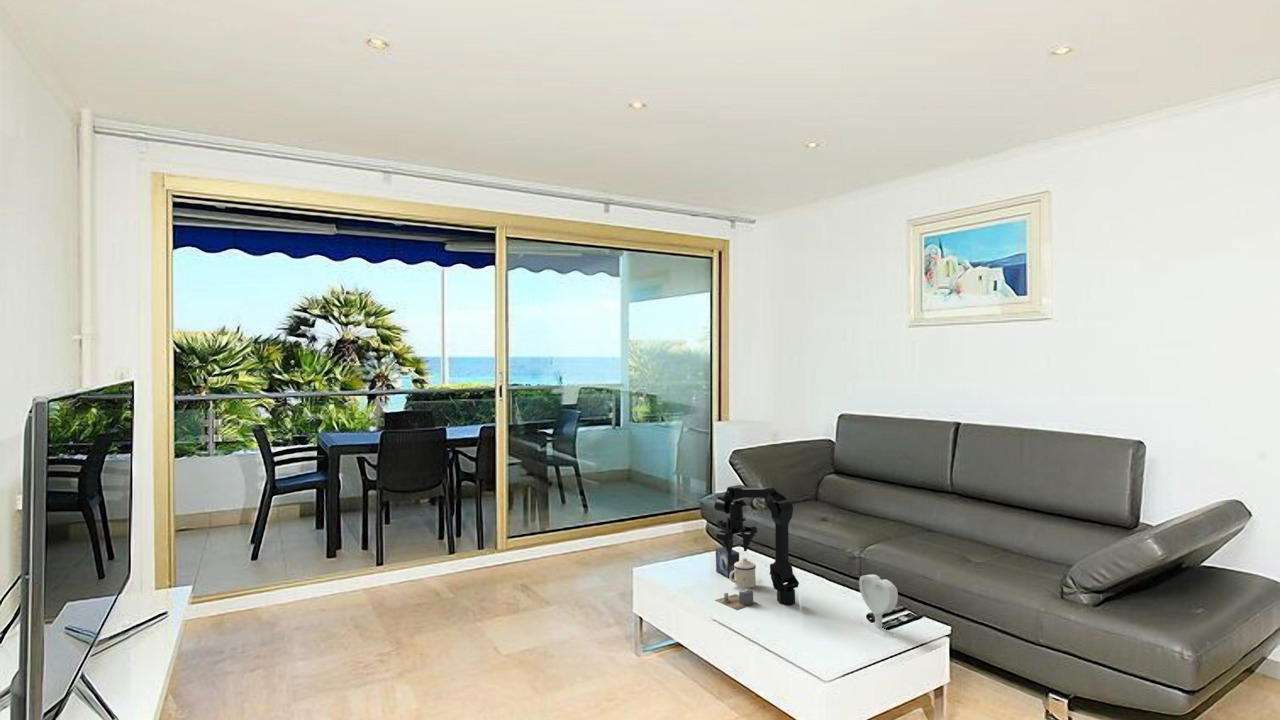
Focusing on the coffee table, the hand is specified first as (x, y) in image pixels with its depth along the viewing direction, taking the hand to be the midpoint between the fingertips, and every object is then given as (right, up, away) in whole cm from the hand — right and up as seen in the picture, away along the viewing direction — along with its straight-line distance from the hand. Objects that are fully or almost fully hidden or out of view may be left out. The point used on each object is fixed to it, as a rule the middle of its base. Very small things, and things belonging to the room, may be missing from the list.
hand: (737, 553), depth 284 cm
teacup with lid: (+2, -14, 0) cm, 14 cm away
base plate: (-3, -14, -19) cm, 24 cm away
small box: (-2, -14, +17) cm, 22 cm away
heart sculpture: (+43, -14, -46) cm, 64 cm away
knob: (+1, -13, -20) cm, 24 cm away
